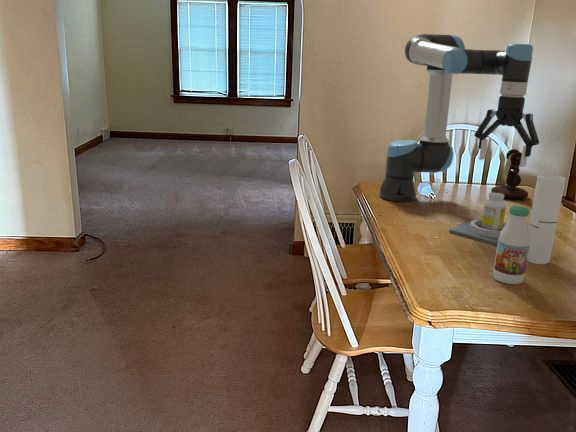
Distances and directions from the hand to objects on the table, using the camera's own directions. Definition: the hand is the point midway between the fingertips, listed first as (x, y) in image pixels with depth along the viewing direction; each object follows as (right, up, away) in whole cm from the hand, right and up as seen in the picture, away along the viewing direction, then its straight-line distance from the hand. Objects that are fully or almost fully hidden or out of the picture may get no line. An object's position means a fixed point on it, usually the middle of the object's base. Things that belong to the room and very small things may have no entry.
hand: (501, 162), depth 170 cm
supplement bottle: (-1, -22, +7) cm, 24 cm away
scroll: (+26, -9, +57) cm, 63 cm away
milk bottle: (-10, -34, -29) cm, 46 cm away
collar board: (-1, -23, +7) cm, 24 cm away
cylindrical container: (+4, -30, -14) cm, 34 cm away
